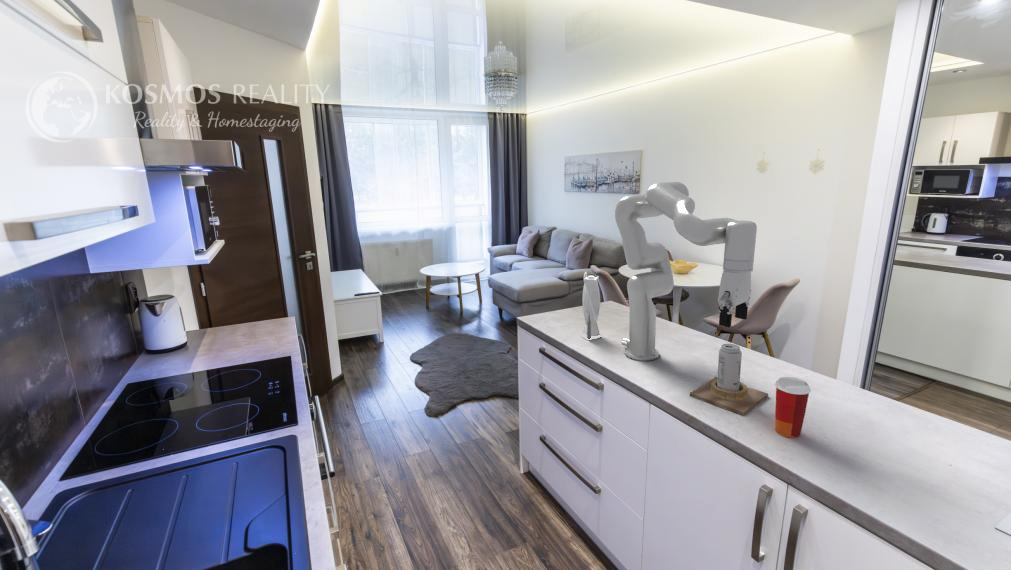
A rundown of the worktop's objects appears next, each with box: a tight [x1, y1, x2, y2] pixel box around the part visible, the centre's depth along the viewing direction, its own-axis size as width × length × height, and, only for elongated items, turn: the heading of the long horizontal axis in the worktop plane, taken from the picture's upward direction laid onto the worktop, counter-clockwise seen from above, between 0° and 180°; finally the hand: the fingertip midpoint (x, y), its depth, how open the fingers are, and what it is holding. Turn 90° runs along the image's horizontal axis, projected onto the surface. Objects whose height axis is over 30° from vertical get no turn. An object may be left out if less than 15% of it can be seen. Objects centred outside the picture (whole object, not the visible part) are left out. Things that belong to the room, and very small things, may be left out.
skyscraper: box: [581, 271, 601, 339], centre depth 186 cm, size 8×8×28 cm
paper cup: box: [774, 376, 812, 439], centre depth 113 cm, size 8×8×14 cm
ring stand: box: [689, 376, 769, 416], centre depth 133 cm, size 16×16×4 cm
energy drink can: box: [716, 343, 743, 392], centre depth 132 cm, size 6×6×15 cm
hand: (732, 322), depth 128 cm, fingers open, 9 cm apart
